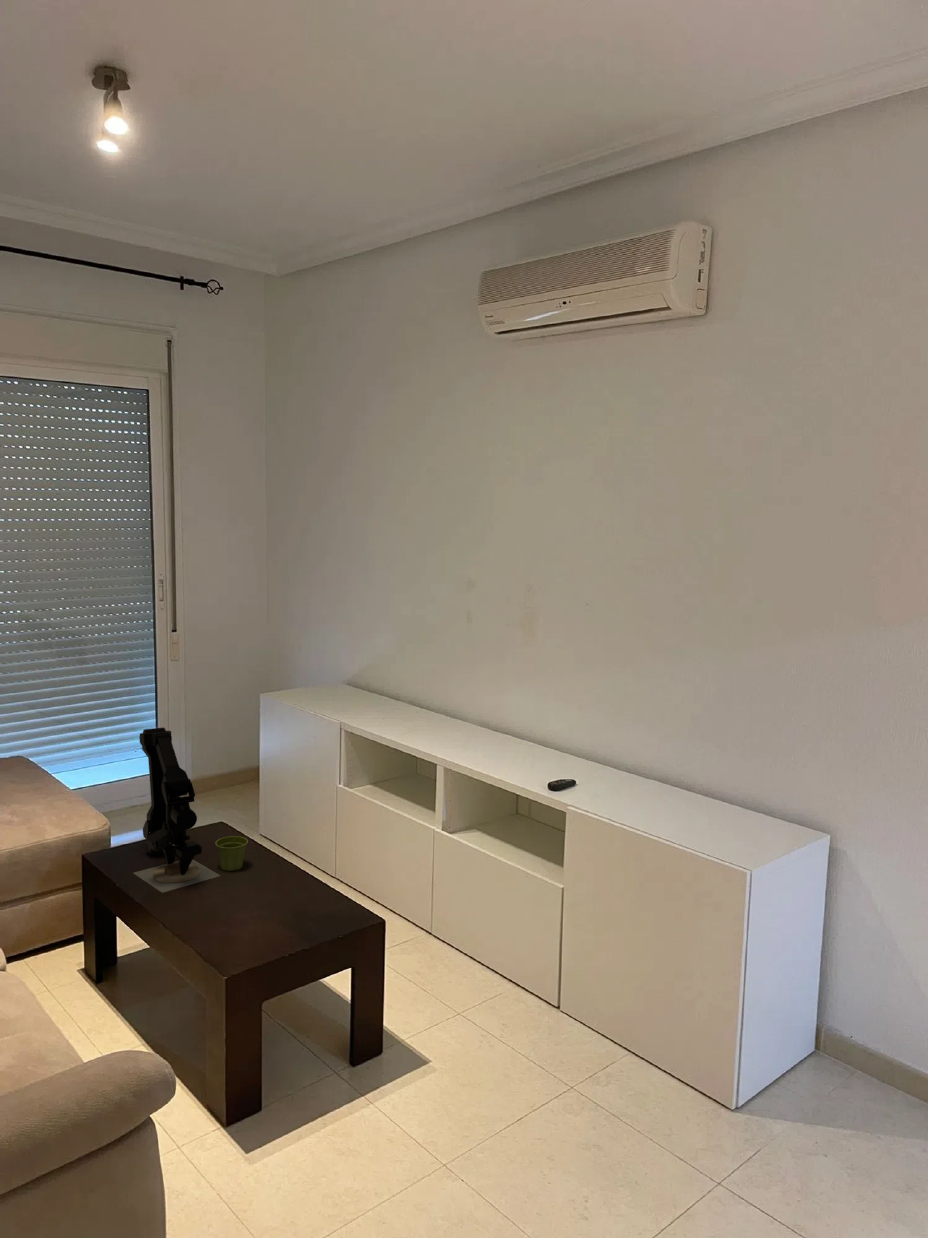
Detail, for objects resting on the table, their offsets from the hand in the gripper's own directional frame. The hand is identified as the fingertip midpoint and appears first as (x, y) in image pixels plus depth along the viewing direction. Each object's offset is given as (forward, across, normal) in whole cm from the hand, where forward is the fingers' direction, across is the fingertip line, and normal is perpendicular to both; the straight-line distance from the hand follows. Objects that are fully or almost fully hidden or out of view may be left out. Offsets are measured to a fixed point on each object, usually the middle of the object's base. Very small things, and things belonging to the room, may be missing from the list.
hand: (176, 871), depth 262 cm
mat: (+2, 0, 0) cm, 2 cm away
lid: (+1, 0, 0) cm, 1 cm away
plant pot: (+2, +5, +15) cm, 16 cm away
